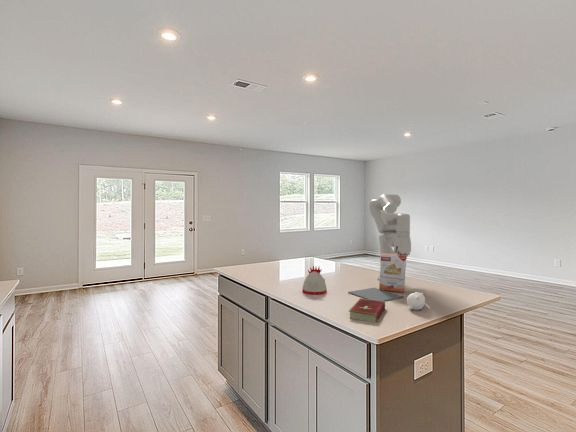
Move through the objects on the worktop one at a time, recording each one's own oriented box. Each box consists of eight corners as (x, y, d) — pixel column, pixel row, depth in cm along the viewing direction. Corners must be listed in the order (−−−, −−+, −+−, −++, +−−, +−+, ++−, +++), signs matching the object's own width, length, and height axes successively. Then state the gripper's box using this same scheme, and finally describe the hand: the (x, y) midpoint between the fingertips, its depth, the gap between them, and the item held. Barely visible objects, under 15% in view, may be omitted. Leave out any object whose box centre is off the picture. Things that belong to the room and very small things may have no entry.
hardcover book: (385, 309, 155) (385, 300, 155) (376, 323, 136) (376, 314, 136) (360, 306, 160) (360, 297, 160) (348, 319, 141) (348, 309, 141)
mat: (374, 288, 193) (374, 287, 193) (403, 297, 174) (403, 296, 174) (348, 292, 183) (348, 291, 183) (376, 302, 164) (376, 301, 164)
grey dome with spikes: (325, 295, 178) (325, 268, 177) (300, 294, 181) (300, 267, 180) (327, 289, 191) (327, 264, 191) (304, 288, 194) (304, 263, 194)
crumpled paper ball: (417, 286, 161) (411, 290, 151) (436, 300, 156) (432, 305, 146) (406, 299, 163) (401, 304, 153) (425, 313, 159) (420, 320, 148)
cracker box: (379, 290, 187) (380, 254, 187) (379, 287, 192) (380, 253, 192) (404, 292, 183) (406, 255, 183) (404, 290, 188) (405, 254, 188)
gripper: (406, 233, 198) (406, 263, 199) (389, 234, 191) (389, 265, 191) (416, 234, 192) (416, 265, 192) (399, 235, 184) (399, 267, 185)
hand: (402, 265), depth 192 cm, fingers closed
